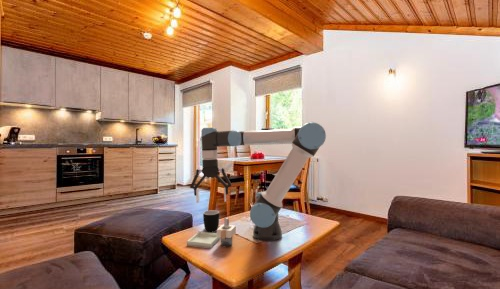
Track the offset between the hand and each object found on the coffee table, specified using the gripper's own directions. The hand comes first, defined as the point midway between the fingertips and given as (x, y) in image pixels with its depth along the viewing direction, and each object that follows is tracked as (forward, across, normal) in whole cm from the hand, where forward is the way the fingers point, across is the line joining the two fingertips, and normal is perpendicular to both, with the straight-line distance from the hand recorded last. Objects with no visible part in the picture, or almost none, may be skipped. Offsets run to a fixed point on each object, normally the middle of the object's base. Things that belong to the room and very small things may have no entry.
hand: (211, 201), depth 122 cm
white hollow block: (+16, -7, +3) cm, 17 cm away
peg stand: (+21, -7, +3) cm, 22 cm away
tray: (+20, +4, -1) cm, 21 cm away
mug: (+20, +4, -18) cm, 27 cm away
